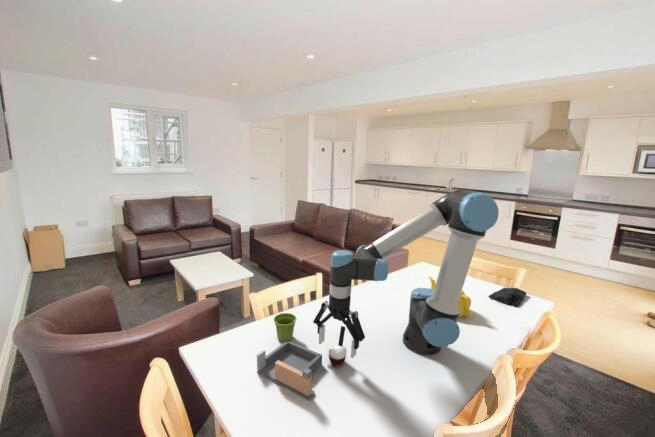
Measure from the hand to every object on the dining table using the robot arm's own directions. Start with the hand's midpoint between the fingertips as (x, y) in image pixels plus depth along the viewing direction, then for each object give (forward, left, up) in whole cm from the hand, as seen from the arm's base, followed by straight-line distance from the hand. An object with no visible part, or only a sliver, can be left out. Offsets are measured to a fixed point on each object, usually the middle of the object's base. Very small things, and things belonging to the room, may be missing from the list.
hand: (337, 348), depth 114 cm
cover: (+5, +20, -4) cm, 21 cm away
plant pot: (+26, -1, -6) cm, 26 cm away
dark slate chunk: (-49, -102, -6) cm, 114 cm away
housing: (+9, +12, -5) cm, 16 cm away
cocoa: (0, 0, -6) cm, 6 cm away
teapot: (-24, -67, -6) cm, 72 cm away
